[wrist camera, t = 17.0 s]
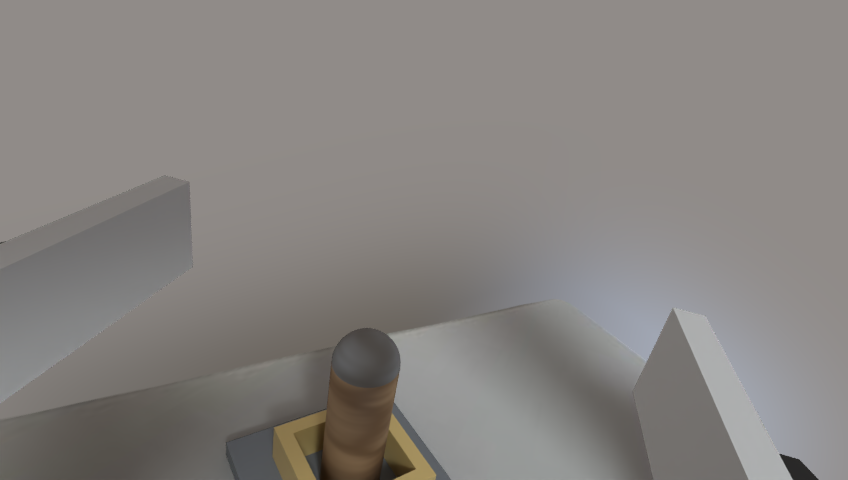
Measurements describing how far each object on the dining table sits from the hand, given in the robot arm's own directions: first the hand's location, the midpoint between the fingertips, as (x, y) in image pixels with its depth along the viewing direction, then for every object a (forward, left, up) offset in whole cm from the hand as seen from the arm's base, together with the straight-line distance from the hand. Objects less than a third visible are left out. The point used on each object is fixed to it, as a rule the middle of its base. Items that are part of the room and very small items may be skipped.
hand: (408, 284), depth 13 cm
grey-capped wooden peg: (-9, -15, -31) cm, 35 cm away
